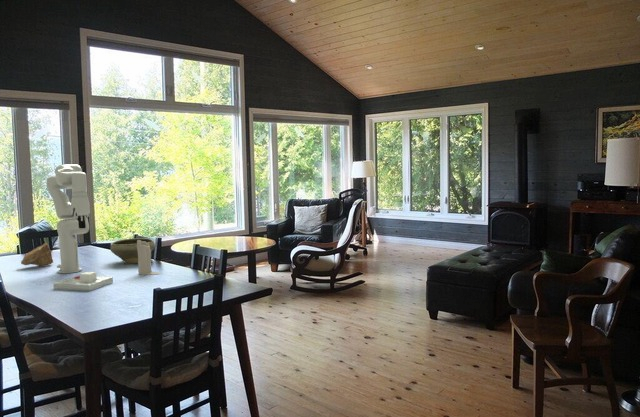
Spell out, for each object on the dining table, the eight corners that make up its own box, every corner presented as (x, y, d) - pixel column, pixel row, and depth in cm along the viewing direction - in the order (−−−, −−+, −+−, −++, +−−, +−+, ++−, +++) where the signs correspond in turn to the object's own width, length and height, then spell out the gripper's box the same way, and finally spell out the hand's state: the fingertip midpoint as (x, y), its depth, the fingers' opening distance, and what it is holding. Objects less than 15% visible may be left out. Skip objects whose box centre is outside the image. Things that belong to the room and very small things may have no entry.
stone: (53, 263, 329) (51, 241, 328) (54, 266, 321) (52, 243, 319) (21, 267, 320) (19, 243, 318) (21, 269, 311) (19, 246, 310)
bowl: (141, 256, 350) (140, 236, 349) (164, 261, 332) (163, 239, 331) (102, 262, 328) (101, 241, 327) (124, 267, 311) (124, 244, 310)
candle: (158, 275, 287) (156, 240, 285) (136, 274, 290) (134, 240, 288) (164, 272, 294) (162, 238, 292) (142, 271, 297) (141, 238, 295)
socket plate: (53, 289, 259) (53, 281, 259) (78, 281, 277) (78, 274, 276) (89, 291, 254) (89, 283, 253) (112, 282, 271) (112, 275, 270)
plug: (80, 287, 263) (79, 273, 262) (87, 284, 267) (86, 271, 267) (90, 287, 261) (89, 274, 260) (96, 285, 266) (96, 272, 265)
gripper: (84, 194, 283) (86, 226, 284) (64, 195, 268) (66, 229, 270) (95, 194, 281) (97, 226, 282) (75, 195, 266) (78, 230, 268)
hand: (82, 228), depth 276 cm, fingers closed
